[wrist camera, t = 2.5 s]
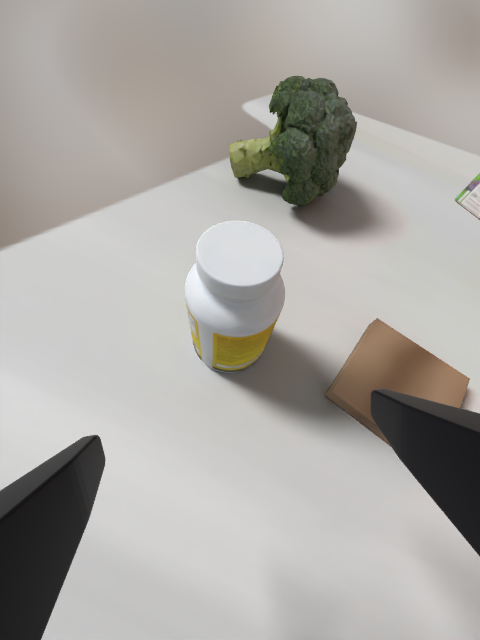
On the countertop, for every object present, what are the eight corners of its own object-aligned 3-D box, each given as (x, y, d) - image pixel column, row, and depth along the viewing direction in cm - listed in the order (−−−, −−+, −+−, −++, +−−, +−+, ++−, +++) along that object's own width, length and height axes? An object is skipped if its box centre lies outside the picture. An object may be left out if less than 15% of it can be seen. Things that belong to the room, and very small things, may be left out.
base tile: (455, 383, 24) (469, 378, 23) (423, 471, 20) (438, 472, 19) (368, 325, 26) (377, 318, 25) (325, 395, 22) (332, 391, 21)
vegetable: (248, 124, 38) (361, 90, 32) (253, 217, 42) (356, 204, 35) (202, 82, 28) (356, 19, 21) (214, 212, 31) (350, 191, 25)
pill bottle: (277, 350, 24) (327, 268, 14) (217, 389, 22) (223, 327, 11) (237, 299, 26) (254, 196, 16) (179, 330, 24) (156, 233, 14)
